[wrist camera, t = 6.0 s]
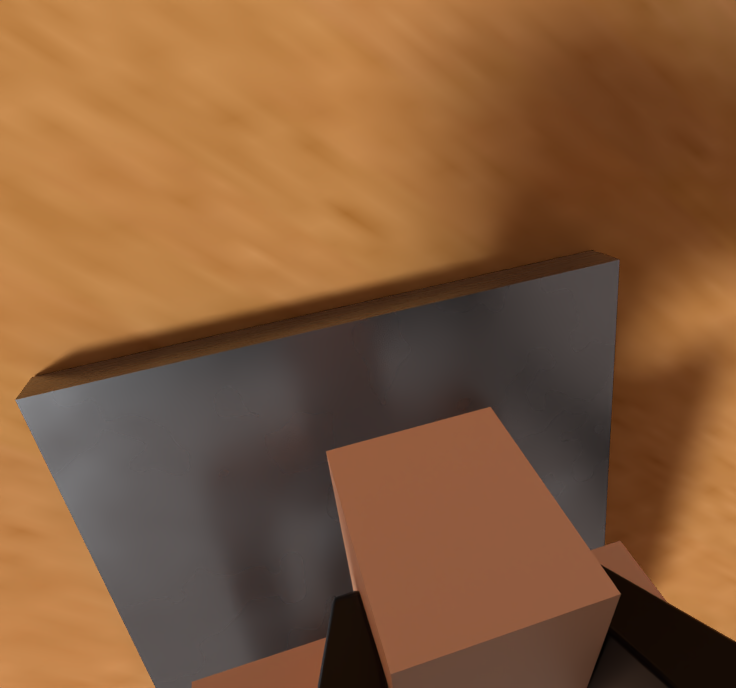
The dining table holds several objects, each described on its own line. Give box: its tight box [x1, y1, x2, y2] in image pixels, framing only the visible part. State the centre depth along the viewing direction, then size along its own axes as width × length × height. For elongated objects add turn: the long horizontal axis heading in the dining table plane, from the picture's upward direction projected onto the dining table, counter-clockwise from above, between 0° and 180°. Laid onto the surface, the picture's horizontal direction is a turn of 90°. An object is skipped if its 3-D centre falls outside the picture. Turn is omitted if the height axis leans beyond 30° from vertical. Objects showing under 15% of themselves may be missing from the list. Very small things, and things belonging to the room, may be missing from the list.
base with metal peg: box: [16, 250, 620, 688], centre depth 13 cm, size 13×16×6 cm
